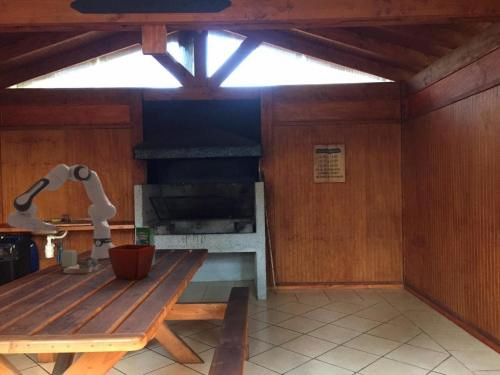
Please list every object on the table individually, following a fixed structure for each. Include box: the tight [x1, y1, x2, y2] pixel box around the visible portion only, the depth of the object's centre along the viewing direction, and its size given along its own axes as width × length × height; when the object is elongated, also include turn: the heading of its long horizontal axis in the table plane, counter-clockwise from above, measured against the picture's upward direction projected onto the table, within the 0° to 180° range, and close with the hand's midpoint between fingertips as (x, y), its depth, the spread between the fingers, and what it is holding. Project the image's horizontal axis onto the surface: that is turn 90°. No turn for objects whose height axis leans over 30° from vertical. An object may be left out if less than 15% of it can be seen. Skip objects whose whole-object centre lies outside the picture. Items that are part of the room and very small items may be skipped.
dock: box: [63, 257, 102, 274], centre depth 250 cm, size 16×15×6 cm
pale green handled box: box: [61, 243, 78, 270], centre depth 257 cm, size 5×7×15 cm
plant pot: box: [108, 244, 156, 281], centre depth 229 cm, size 19×19×17 cm
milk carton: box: [135, 225, 156, 267], centre depth 264 cm, size 9×9×25 cm
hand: (56, 229), depth 258 cm, fingers open, 8 cm apart
